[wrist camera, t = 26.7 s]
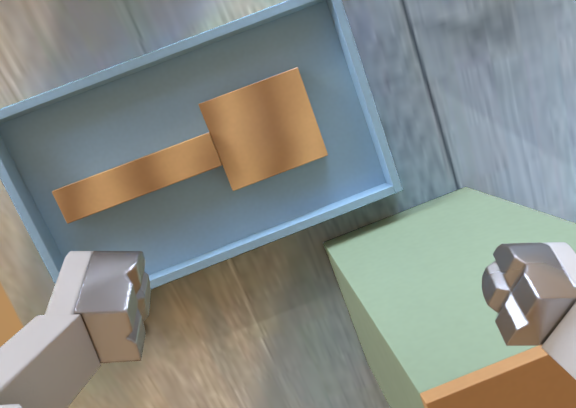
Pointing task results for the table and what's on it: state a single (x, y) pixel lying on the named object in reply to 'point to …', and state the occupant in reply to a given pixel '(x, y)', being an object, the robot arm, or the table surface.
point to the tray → (190, 123)
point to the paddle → (215, 147)
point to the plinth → (446, 304)
